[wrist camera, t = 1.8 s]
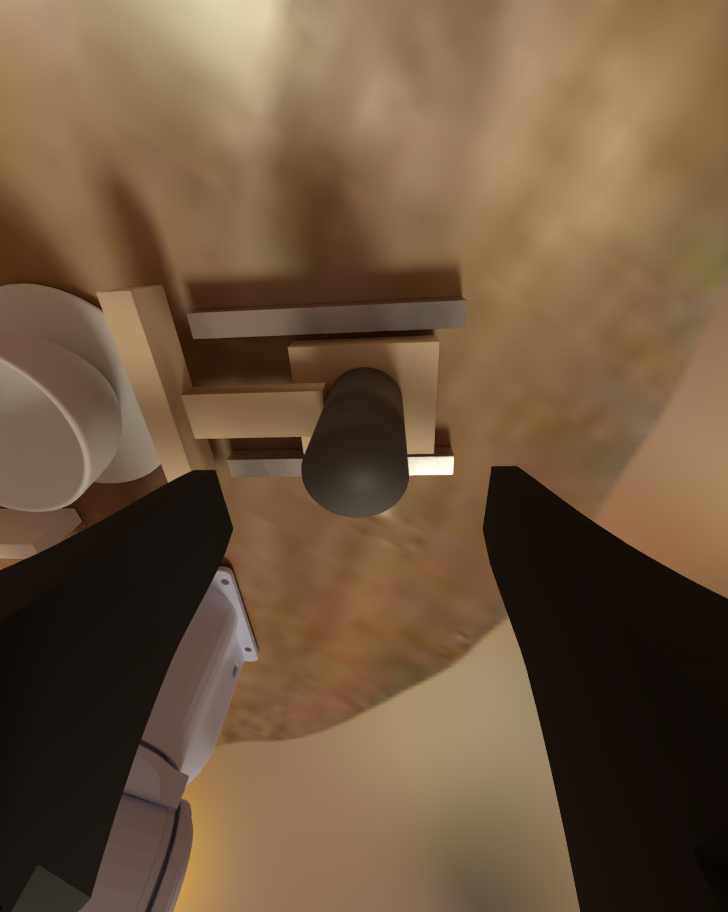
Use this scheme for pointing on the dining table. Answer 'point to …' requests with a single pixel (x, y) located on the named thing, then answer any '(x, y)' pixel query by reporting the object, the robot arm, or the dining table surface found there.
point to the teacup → (63, 402)
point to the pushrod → (288, 404)
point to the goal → (34, 530)
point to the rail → (322, 322)
